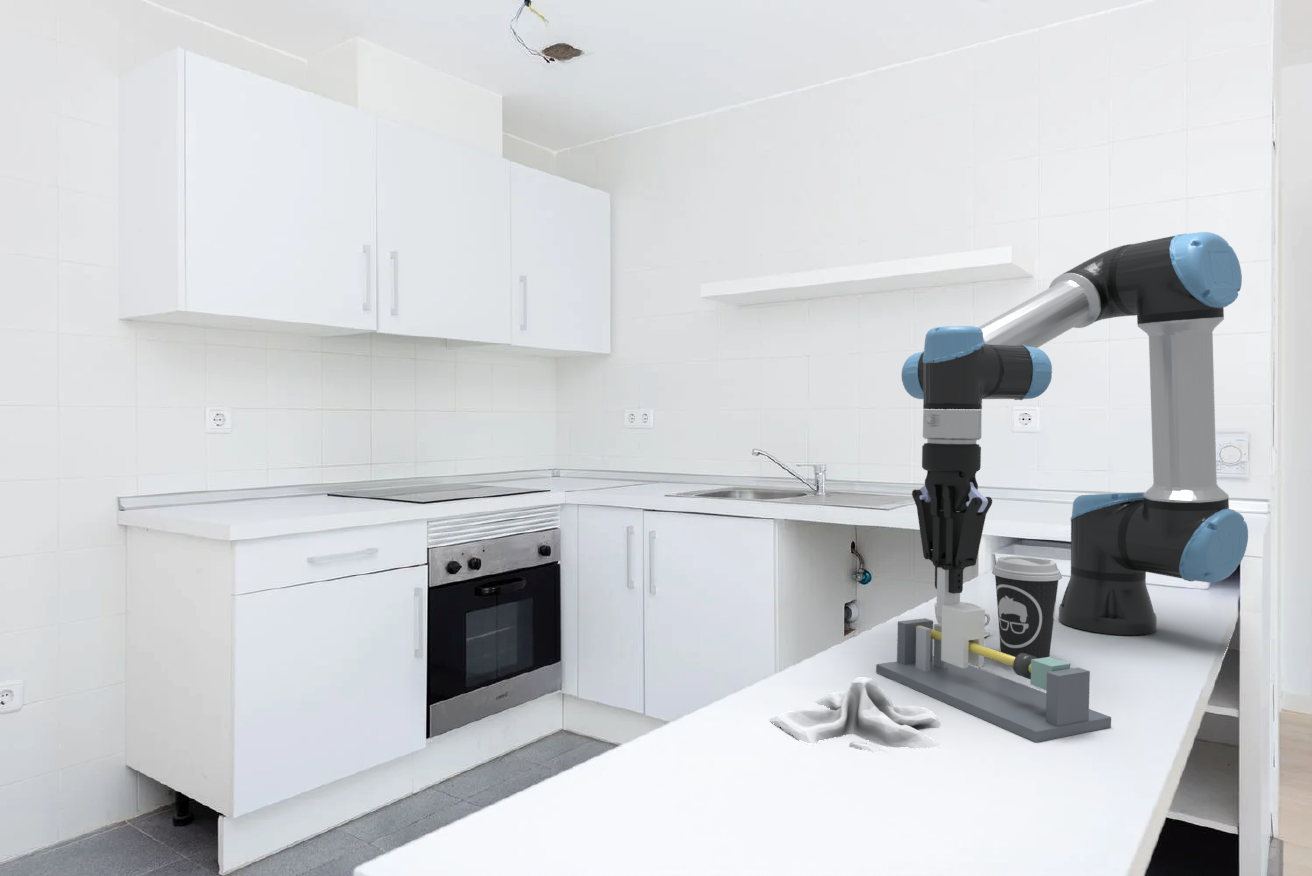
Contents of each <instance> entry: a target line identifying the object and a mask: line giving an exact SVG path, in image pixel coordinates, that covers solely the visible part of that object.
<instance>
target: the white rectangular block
mask: <svg viewBox="0 0 1312 876" xmlns="http://www.w3.org/2000/svg"><path fill="white" fill-rule="evenodd" d="M985 613H986V609H983V608H982V607H981V608H977V607H974V606H970V605H967V604H963V603H962V604H953V605H943V606H942V640H941V660H942V661H944V662H947V663H950V664H952V665H955V666H958V667H960V668H968V665H969V664H970V665H971V664H972V665H973V666H974V665H975V666H977V667H981V666H982V667H983V666H985V657H984V656H981V655H978V654H976V653H973V652H970V651H968V648H969V642H972V643H975V644H978V645H981V646H984V647H985V637H984V631H985V630H986V628H985V627H986V626H985V623H986V619H985V617H986V616H985Z"/></svg>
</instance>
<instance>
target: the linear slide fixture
mask: <svg viewBox="0 0 1312 876" xmlns="http://www.w3.org/2000/svg"><path fill="white" fill-rule="evenodd" d="M933 625H934V630H933ZM896 639H897V640H896V641H897V645H896V646H897V647H896V648H897V649H896V653H897V654H896V661H891V662H882V663H877V664H876V665H875V667H876V668H875V669H876V670H875V673H876V674H879V675H881V676H883V677H885V678H888V679H889V680H892V681H894V682H897V683H899V684H902V685H904V686H906V687H908V688H910V689H913V690H915V691H918V692H919V693H922V694H924V695H926V696H928V697H932V698H933V699H936V700H938V701H940V702H942V703H945V704H947V705H950V706H951V707H954V708H956V709H958V710H961V711H963V712H965V713H968V714H970V715H973V716H975V717H977V718H979V719H982V720H984V721H986V722H988V723H991V724H993V725H995V726H998V727H1000V728H1002V729H1005V730H1006V731H1009V732H1010V733H1014V734H1016V735H1018V736H1020V737H1022V738H1024V739H1027V740H1029V741H1032V742H1034V743H1038V742H1039V743H1040V742H1044V741H1049V740H1054V739H1058V738H1059V739H1060V738H1064V737H1065V738H1066V737H1069V736H1074V735H1080V734H1084V733H1089V732H1094V731H1098V730H1099V731H1100V730H1103V729H1108V728H1112V716H1109V715H1107V714H1104V713H1102V712H1098V711H1096V710H1093V709H1090V682H1091V681H1090V679H1091V675H1090V670H1088V669H1084V668H1081V667H1071V663H1069V662H1067V661H1063V660H1061V659H1058V658H1054V657H1051V656H1049V657H1045V658H1039V659H1038V658H1037V657H1035V656H1031V655H1028V654H1025V653H1020V654H1018V655H1017V656H1016V657H1014V656H1011V655H1008V654H1005V653H1002V652H1001V651H998V650H995V649H992V648H989V647H987V646H985V645H984V646H981V645H978V644H975V643H972V642H969V648H968V651H970V652H973V653H976V654H978V655H981V656H984V658H987V659H991V660H993V661H996V662H999V663H1001V664H1005V665H1007V666H1010V667H1012V668H1013V672H1014V673H1015V675H1017V676H1019V677H1022V678H1025V679H1027V680H1030V685H1031V686H1034V687H1036V688H1039V689H1042V690H1044V691H1041V690H1038V689H1036V688H1033V687H1030V686H1028V685H1025V684H1022V683H1020V682H1017V681H1014V680H1011V679H1009V678H1006V677H1003V676H1001V675H998V674H995V673H992V672H989V671H987V670H984V669H981V668H980V667H979V668H978V666H977V667H976V666H974V665H971V664H968V668H960V667H958V666H955V665H952V664H950V663H947V662H944V661H942V660H941V640H942V625H941V624H938V623H936V624H935V623H934V620H932V619H929V618H917V619H916V618H915V619H907V620H898V621H897V638H896ZM1045 691H1046V692H1045Z"/></svg>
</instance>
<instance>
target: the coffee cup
mask: <svg viewBox="0 0 1312 876" xmlns="http://www.w3.org/2000/svg"><path fill="white" fill-rule="evenodd" d="M991 574H992V575H994V578H995V579H994V580H995V590H996V603H997V604H996V605H997V616H998V620H997V621H998V631H999V633H998V634H999V648H1000V652H1002V653H1005V654H1008V655H1011V656H1014V657H1016V656H1017V655H1018V654H1020V653H1025V654H1028V655H1031V656H1035V657H1037V658H1038V659H1039V658H1045V657H1051V655H1050V653H1051V645H1052V639H1053V638H1052V636H1053V629H1054V627H1053V626H1054V621H1055V611H1056V603H1057V597H1058V596H1057V593H1058V587H1059V580H1062V579H1063V576H1062V572H1061V571H1060V569H1059V568H1058V565H1057V562H1055V561H1054V560H1051V559H1046V558H1040V557H1033V556H1032V557H1031V556H1017V555H1016V556H1002V557H999V558H998V559H997V562H996V564H995V565H994V566H993V567H992V571H991Z"/></svg>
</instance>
